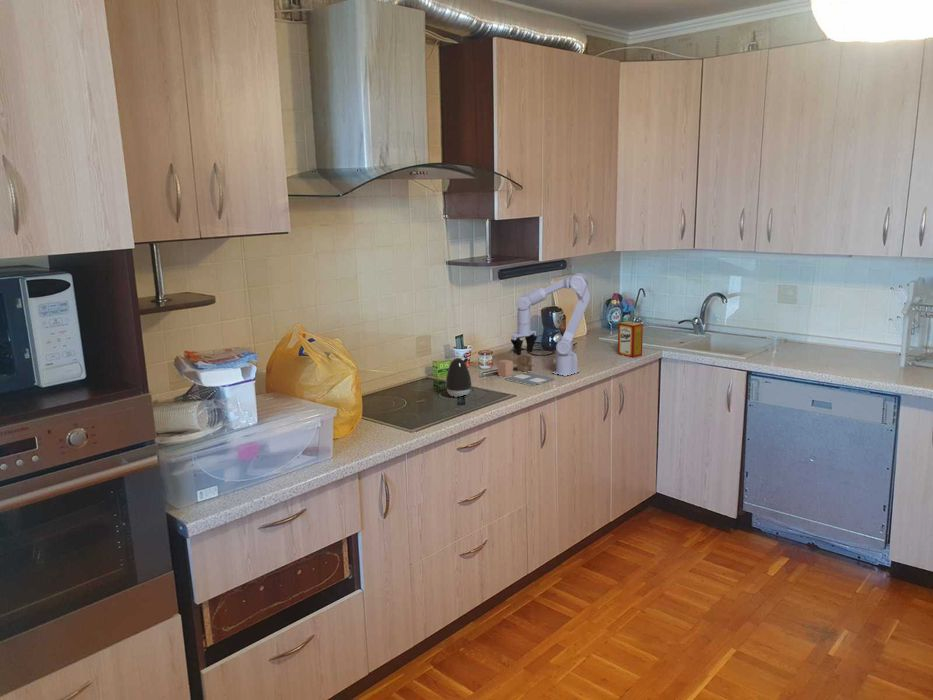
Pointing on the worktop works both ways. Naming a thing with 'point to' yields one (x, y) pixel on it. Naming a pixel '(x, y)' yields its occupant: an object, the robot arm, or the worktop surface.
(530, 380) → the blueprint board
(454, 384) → the black egg-shaped speaker
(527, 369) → the walnut pillar
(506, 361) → the terracotta pillar
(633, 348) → the baking soda box
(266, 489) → the worktop surface
